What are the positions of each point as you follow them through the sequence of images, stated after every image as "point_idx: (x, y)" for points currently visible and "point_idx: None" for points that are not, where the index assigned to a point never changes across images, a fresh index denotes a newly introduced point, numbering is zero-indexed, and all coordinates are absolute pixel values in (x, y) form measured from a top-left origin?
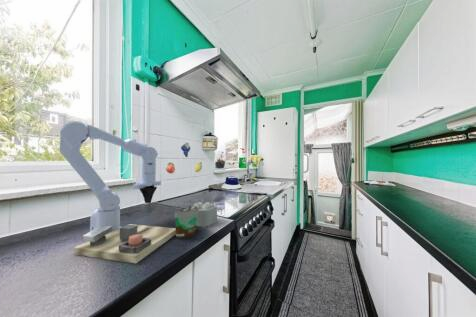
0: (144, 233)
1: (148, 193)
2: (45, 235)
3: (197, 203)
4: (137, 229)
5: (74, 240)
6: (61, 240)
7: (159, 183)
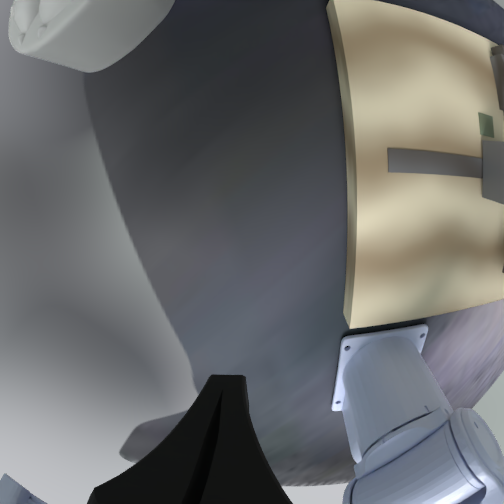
0: (448, 132)
1: (272, 474)
2: None
3: (26, 10)
4: (417, 214)
5: (442, 375)
6: None
7: (11, 499)
